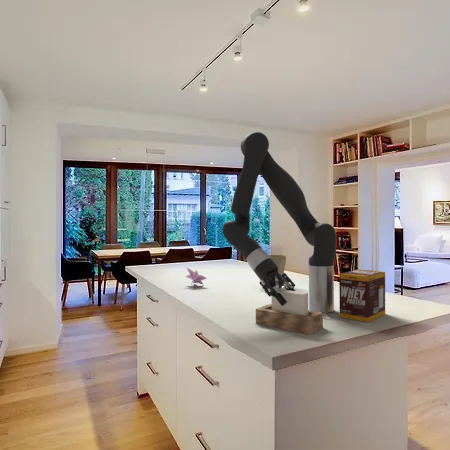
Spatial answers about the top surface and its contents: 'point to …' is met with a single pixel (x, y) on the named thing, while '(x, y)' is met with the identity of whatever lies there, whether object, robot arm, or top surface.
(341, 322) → the scissors
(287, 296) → the white rectangular block
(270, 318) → the walnut box
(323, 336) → the top surface
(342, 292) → the supplement box
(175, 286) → the top surface
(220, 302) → the top surface
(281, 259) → the plant pot
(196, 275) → the lily
